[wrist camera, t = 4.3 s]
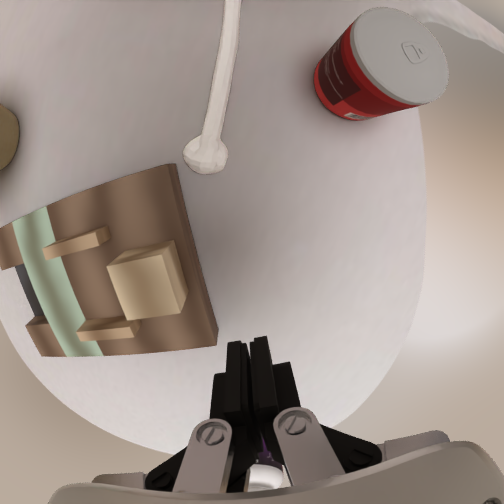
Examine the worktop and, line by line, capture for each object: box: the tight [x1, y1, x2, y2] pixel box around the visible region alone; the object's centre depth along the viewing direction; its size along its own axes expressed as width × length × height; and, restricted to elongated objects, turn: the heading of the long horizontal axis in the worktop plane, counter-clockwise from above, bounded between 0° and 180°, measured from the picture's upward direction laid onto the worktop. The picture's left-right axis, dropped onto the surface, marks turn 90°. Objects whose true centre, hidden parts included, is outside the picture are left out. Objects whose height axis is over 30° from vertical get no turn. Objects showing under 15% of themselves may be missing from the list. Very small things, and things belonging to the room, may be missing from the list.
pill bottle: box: [248, 439, 284, 492], centre depth 28 cm, size 8×8×14 cm
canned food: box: [314, 7, 449, 121], centre depth 17 cm, size 8×8×11 cm
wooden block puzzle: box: [0, 164, 218, 357], centre depth 25 cm, size 26×18×6 cm
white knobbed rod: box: [183, 0, 242, 174], centre depth 20 cm, size 28×4×3 cm, turn 176°
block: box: [106, 240, 189, 320], centre depth 22 cm, size 5×5×4 cm
